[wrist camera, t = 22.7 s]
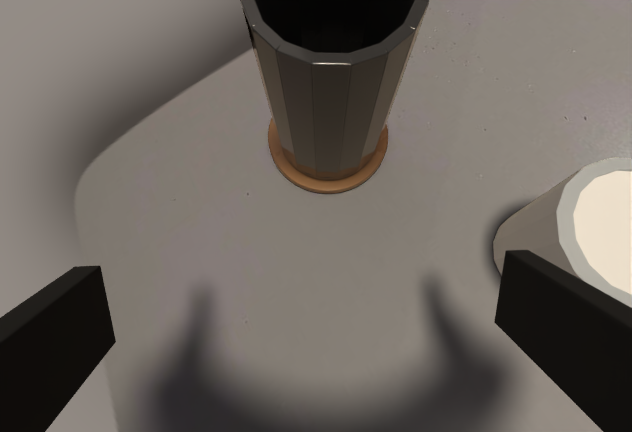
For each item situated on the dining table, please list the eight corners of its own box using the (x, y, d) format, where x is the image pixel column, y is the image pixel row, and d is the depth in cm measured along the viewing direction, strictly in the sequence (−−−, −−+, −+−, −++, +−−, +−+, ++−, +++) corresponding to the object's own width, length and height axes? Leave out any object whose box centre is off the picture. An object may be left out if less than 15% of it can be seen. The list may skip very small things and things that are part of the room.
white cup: (518, 180, 22) (603, 127, 15) (616, 245, 21) (755, 217, 14) (461, 264, 21) (527, 245, 14) (562, 337, 20) (687, 354, 13)
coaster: (247, 126, 24) (245, 121, 23) (340, 67, 25) (340, 61, 24) (313, 217, 22) (313, 215, 21) (410, 150, 23) (413, 146, 22)
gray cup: (262, 157, 22) (206, 23, 12) (305, 77, 24) (291, -107, 13) (354, 197, 21) (386, 93, 11) (393, 112, 23) (455, -54, 12)
